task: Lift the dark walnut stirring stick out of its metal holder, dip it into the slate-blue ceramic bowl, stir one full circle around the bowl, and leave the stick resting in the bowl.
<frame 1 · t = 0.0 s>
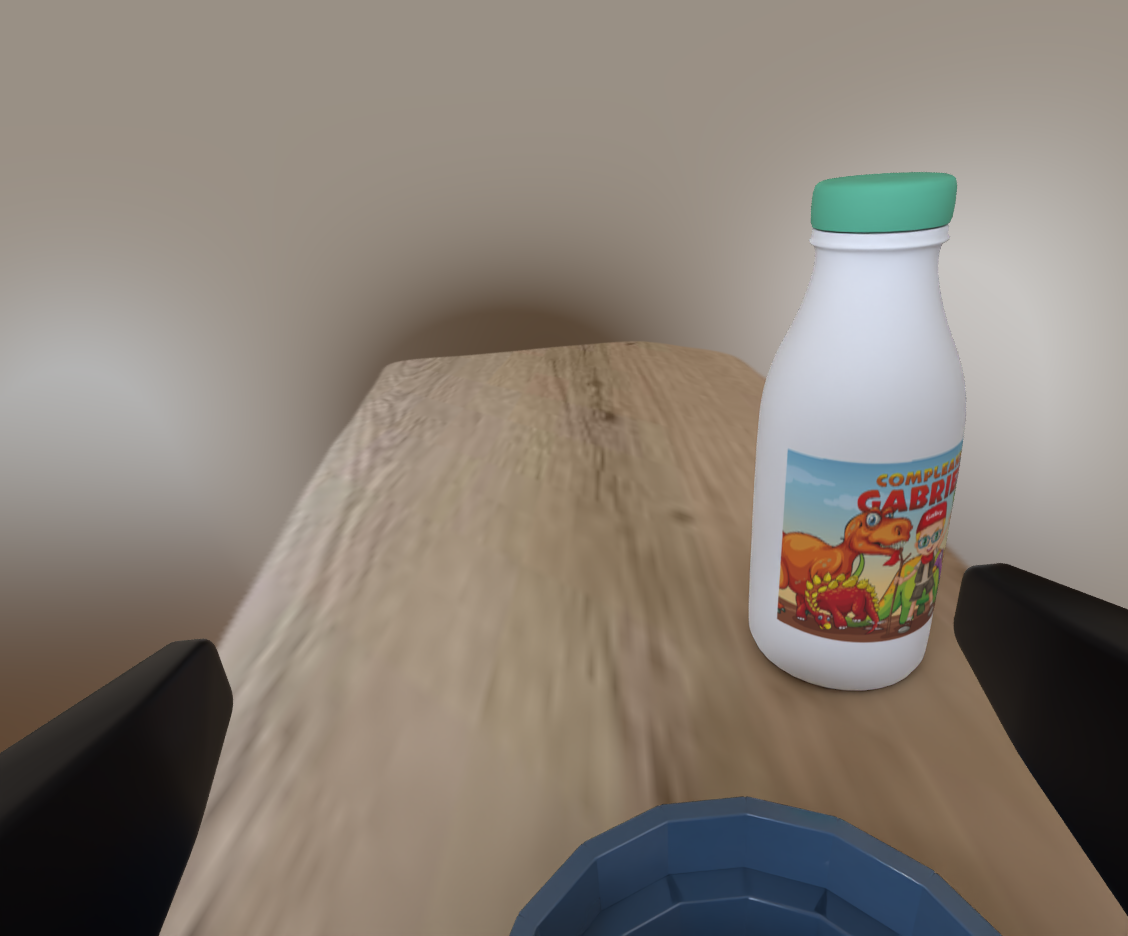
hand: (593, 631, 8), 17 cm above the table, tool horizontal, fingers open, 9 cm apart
milk bottle: (832, 640, 32), on the table
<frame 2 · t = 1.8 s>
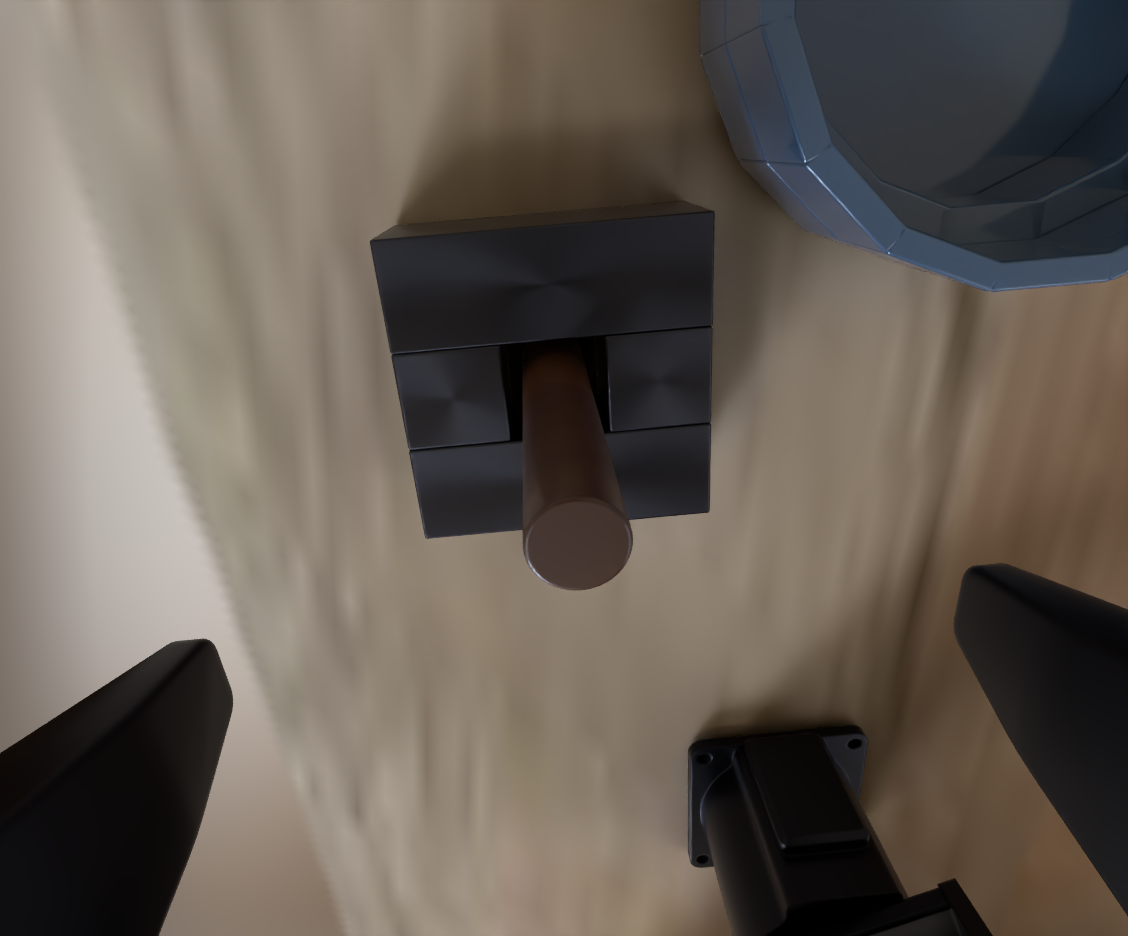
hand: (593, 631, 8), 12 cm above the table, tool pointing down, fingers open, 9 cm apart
stick: (560, 421, 14), in the holder
holder: (551, 355, 19), on the table
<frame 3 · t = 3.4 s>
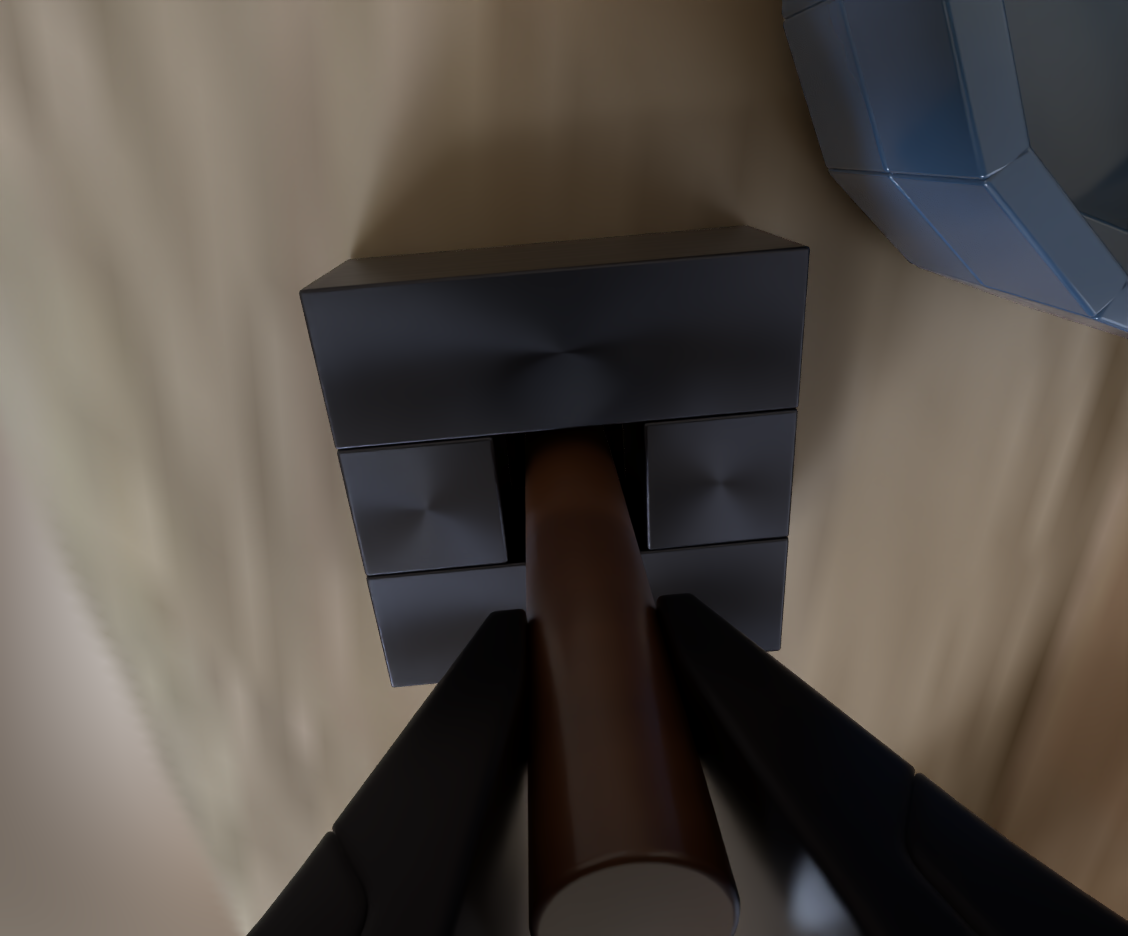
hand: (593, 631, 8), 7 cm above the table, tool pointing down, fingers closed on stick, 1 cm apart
stick: (583, 562, 10), in the holder, touching gripper
holder: (564, 429, 14), on the table
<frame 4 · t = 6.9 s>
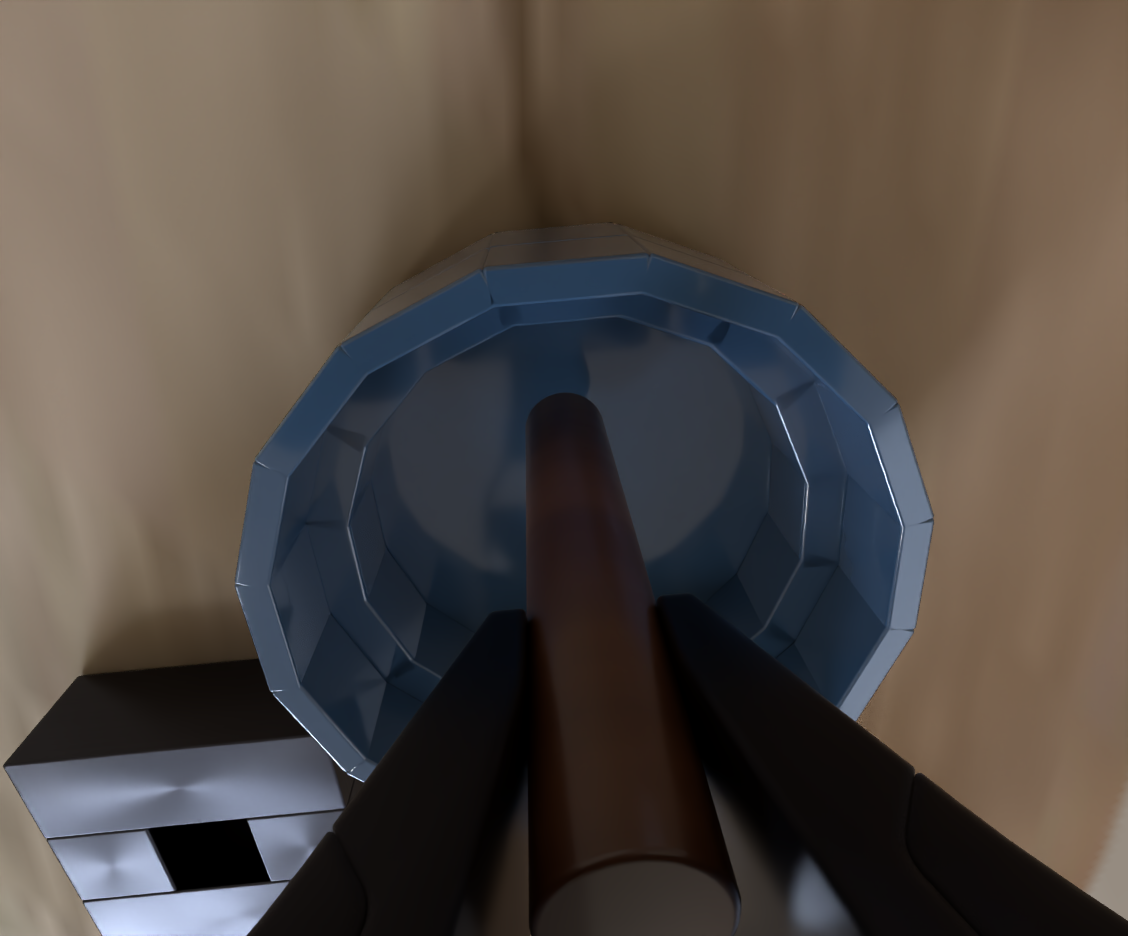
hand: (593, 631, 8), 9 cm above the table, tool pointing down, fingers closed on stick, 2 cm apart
bowl: (573, 485, 17), on the table
stick: (583, 560, 10), point 7 cm above the table, touching gripper
holder: (252, 761, 20), on the table
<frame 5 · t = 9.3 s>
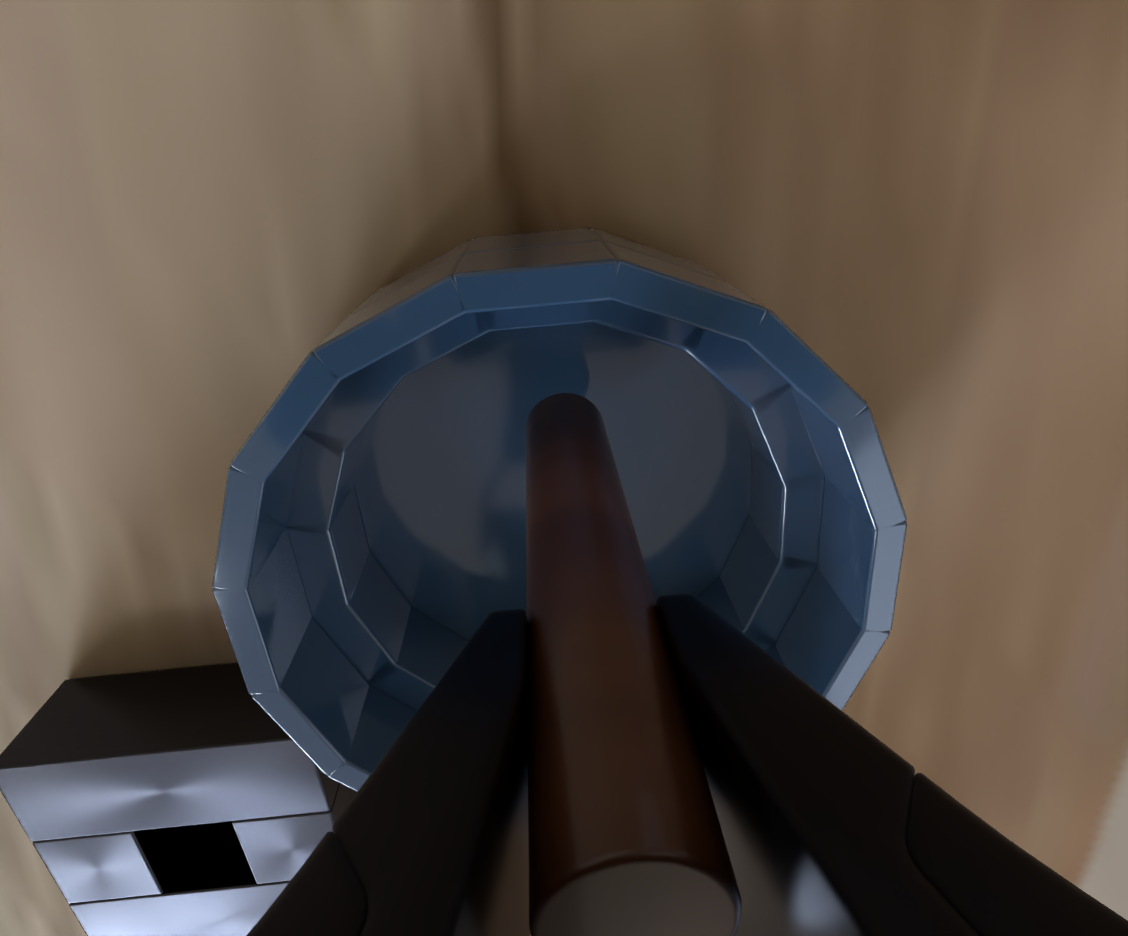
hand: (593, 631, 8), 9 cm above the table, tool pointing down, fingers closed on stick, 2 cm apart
bowl: (556, 489, 17), on the table
stick: (583, 561, 10), point 7 cm above the table, touching gripper
holder: (239, 764, 20), on the table
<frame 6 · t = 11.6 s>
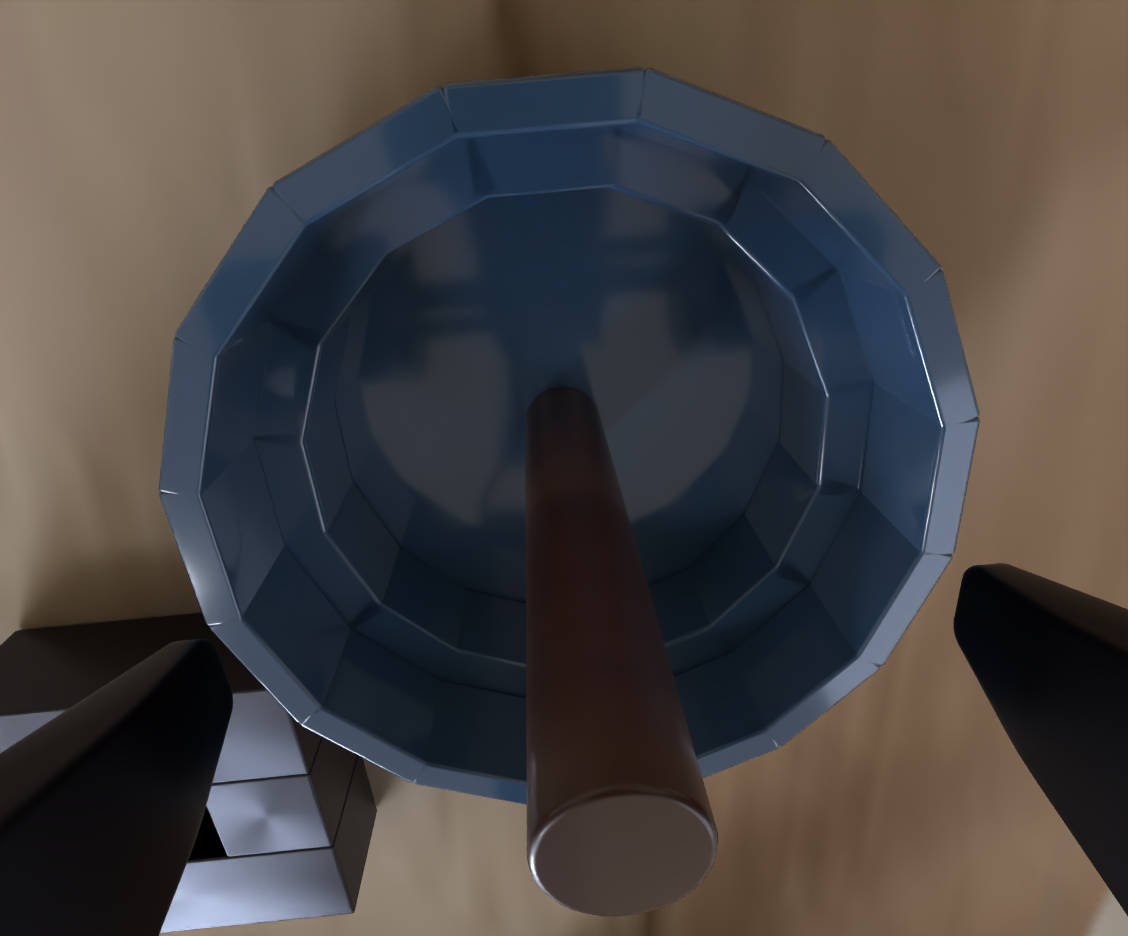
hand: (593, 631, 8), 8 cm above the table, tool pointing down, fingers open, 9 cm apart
bowl: (562, 413, 15), on the table
stick: (579, 543, 10), in the bowl
holder: (212, 728, 18), on the table
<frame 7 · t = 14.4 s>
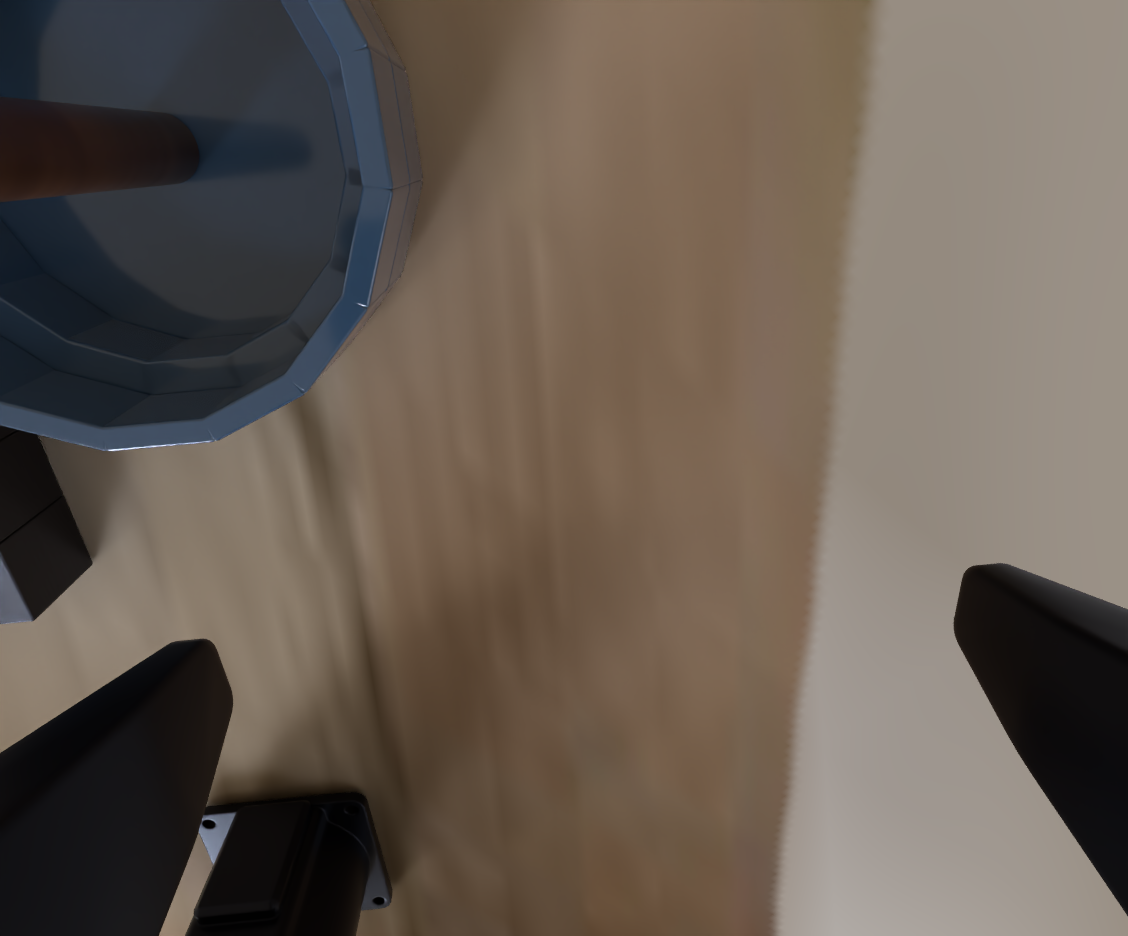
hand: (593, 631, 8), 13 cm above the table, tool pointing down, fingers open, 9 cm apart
bowl: (176, 148, 17), on the table
stick: (36, 149, 12), in the bowl
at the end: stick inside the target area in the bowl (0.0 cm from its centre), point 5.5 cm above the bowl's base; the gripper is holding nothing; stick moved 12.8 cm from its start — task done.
